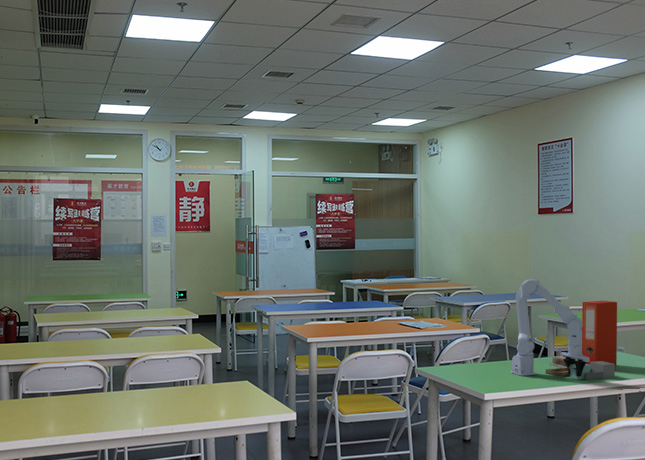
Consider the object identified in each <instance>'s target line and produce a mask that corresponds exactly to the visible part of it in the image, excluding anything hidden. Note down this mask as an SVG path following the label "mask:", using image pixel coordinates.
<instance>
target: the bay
mask: <svg viewBox="0 0 645 460" xmlns="http://www.w3.org/2000/svg"><path fill="white" fill-rule="evenodd" d="M615 368H616V366H615V364H613V363H608V362H603V361H597V362H590V373H585V379H584V380H585V381H589V380H590V381H592V380H601V379H610V378H615V375H616V374H615V373H616V372H615V371H616V369H615Z"/></svg>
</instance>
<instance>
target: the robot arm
mask: <svg viewBox="0 0 645 460" xmlns="http://www.w3.org/2000/svg"><path fill="white" fill-rule="evenodd" d="M534 294H535V295H537V296H540V297H543V299H545V300H546V301H547V303H548V304H550V305H551V306H552V307H553V309H555V311H554V313H555V315H557V317H559V319H561V321H562V322H563V323H564V324H566V326H567V329H568V335H567V337H568V339H567V343H568V345H567V352H565V351H562V352H560V356H561V357H566V358H565V359H563V360H564V362H565V364H566V366H567V369H568V373H569V375H570V369H569V367H570V365H571V364H575V366H576V375H577V377H580V376H581V375H582V371H583V368H584V366H585V365H586V363H587V362H589V357H586V356H583V354H582V326H583V323H582V319H581V318H580V317H578V315H577V314H575V313H574V312H573V311H572V310H571V309H570V308H571V307H570V306H569V305H566V304H564V303H563V304H562V303H560V301H558V299H557V298H556V297H555V296H554V295H553V294H552V292H551V291H550V290H549V289H548V288H547V287H546V286H545V285H544V284H543V283H541V282H540V281H539V280H538V279H536V278H530V279H526V280H524V281H523V282H522V283H521V284H520V287H519V289H518V291H517V292H516V295H515V305H516V306H515V307H516V315H517V316H516V317H517V326H518V327H517V328H518V336H517V343H516V344H517V345H516V350H517V353H516V354H515V355H513V357H512V360H511V371H510V373H511V374H514V375H518V376H523V377H526V376H534V375H538V372H536V371H535V372H534V369H535V368H534V367H535V366H534V365H535V362H534V358H535V357H534V356H535V354H534V352H533V351H534V349H535V343H534V341H533V339H532V338H533V337H532V335H531V329H530V316H529V307H528V306H529V305H528V299H529V298H531V296H532V295H534ZM575 360H578V361H575Z"/></svg>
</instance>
